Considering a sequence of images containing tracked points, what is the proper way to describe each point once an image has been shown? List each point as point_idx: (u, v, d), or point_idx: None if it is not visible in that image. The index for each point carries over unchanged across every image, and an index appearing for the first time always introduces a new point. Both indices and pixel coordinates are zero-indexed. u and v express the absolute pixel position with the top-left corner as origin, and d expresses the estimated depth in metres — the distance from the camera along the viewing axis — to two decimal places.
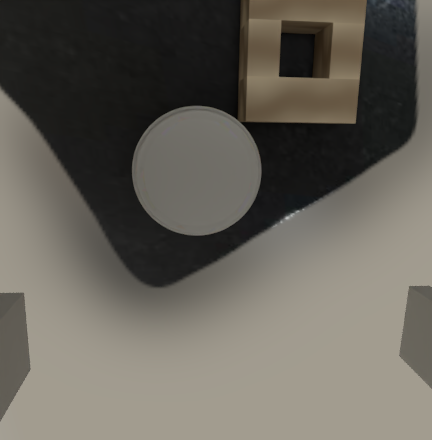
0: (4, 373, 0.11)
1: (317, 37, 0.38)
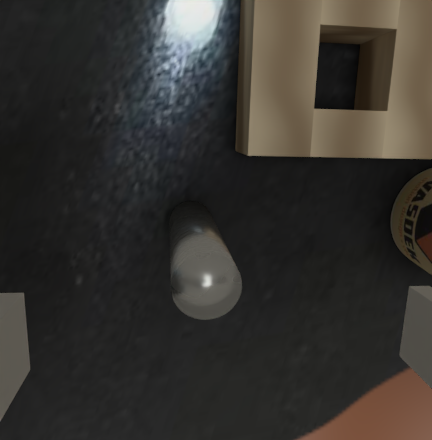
0: (4, 373, 0.11)
1: None
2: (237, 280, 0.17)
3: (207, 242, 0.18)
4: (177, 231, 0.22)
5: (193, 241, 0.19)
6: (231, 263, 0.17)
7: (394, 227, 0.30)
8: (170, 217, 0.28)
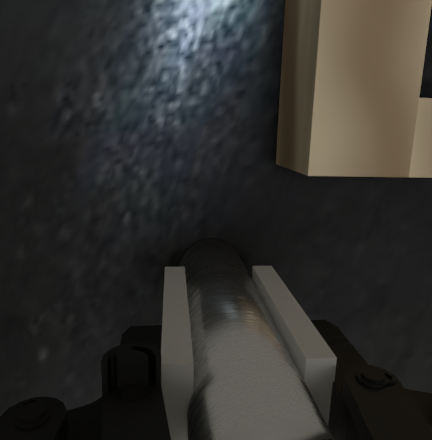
0: None
1: None
2: None
3: (262, 368, 0.09)
4: (195, 312, 0.13)
5: (231, 360, 0.09)
6: (324, 435, 0.08)
7: None
8: (180, 265, 0.18)
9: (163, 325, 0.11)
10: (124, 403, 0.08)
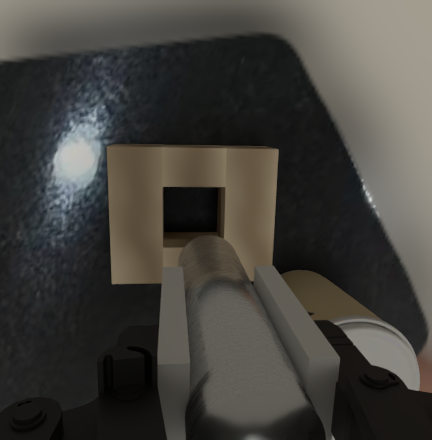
0: None
1: None
2: (317, 437, 0.09)
3: (253, 349, 0.10)
4: (192, 302, 0.13)
5: (224, 343, 0.10)
6: (307, 407, 0.08)
7: None
8: (179, 260, 0.19)
9: (160, 325, 0.11)
10: (120, 403, 0.08)
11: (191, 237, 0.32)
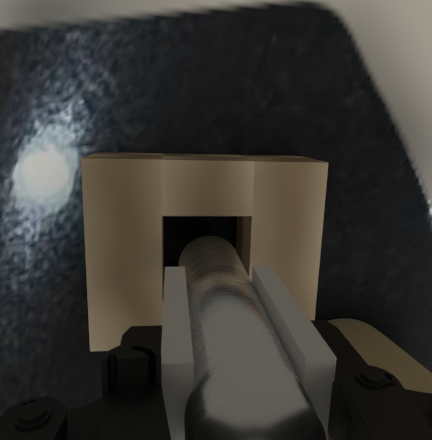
0: None
1: None
2: None
3: (253, 351, 0.10)
4: (193, 303, 0.13)
5: (225, 345, 0.10)
6: (308, 410, 0.08)
7: None
8: (180, 260, 0.19)
9: (163, 325, 0.11)
10: (124, 403, 0.08)
11: None
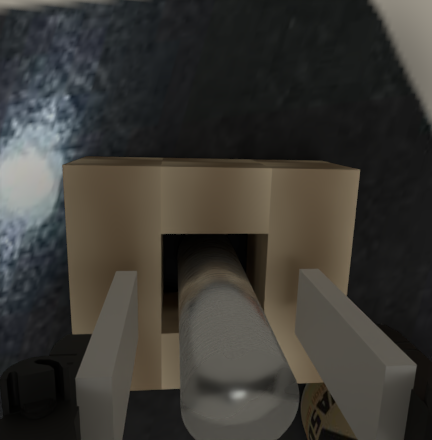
0: (133, 336, 0.13)
1: None
2: (291, 391, 0.10)
3: (239, 319, 0.11)
4: (189, 283, 0.15)
5: (215, 315, 0.12)
6: (282, 364, 0.10)
7: (303, 420, 0.24)
8: (178, 249, 0.21)
9: (93, 335, 0.10)
10: (28, 423, 0.07)
11: None
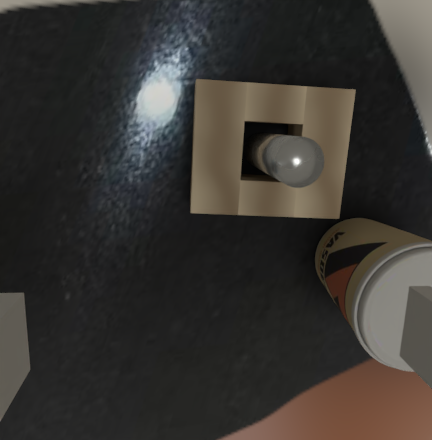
0: (4, 373, 0.11)
1: None
2: (321, 159, 0.24)
3: None
4: (264, 140, 0.29)
5: (285, 136, 0.25)
6: (318, 145, 0.24)
7: (316, 265, 0.38)
8: (246, 144, 0.35)
9: None
10: None
11: (262, 177, 0.34)
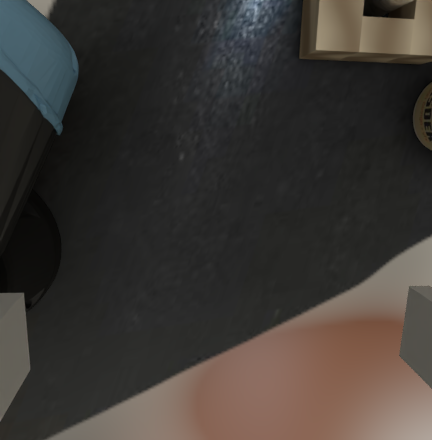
0: (4, 373, 0.11)
1: None
2: None
3: None
4: None
5: None
6: None
7: (415, 121, 0.40)
8: None
9: None
10: None
11: None
